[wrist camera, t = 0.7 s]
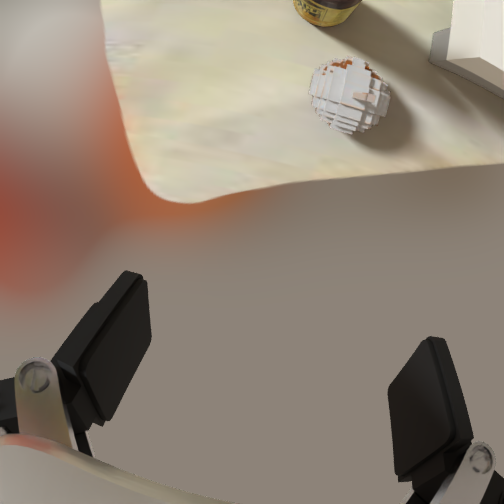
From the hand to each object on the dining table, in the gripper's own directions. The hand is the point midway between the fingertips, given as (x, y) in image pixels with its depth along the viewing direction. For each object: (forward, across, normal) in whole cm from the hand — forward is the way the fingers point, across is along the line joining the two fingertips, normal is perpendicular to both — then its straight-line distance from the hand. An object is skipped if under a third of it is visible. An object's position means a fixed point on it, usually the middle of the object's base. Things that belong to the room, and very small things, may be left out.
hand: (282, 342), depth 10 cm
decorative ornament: (+29, -3, -8) cm, 30 cm away
